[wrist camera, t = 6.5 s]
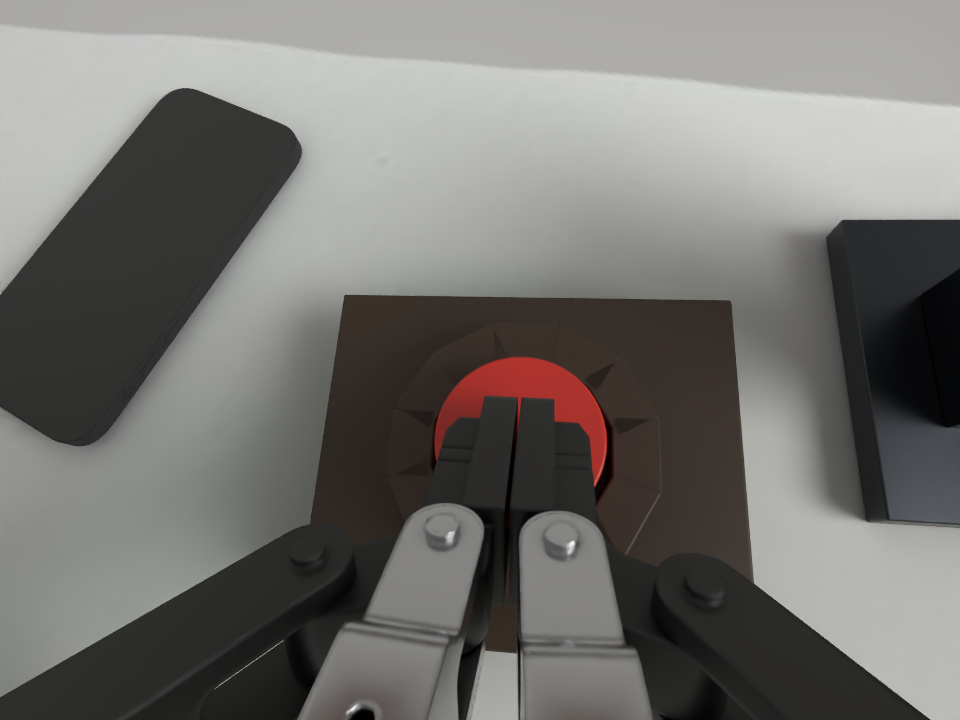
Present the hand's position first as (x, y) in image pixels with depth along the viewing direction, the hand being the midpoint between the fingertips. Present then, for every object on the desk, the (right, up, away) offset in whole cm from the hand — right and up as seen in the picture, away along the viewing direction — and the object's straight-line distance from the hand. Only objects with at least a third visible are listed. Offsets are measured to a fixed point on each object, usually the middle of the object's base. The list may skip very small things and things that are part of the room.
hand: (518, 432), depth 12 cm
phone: (-15, +6, +11) cm, 19 cm away
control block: (+1, -2, +7) cm, 7 cm away
